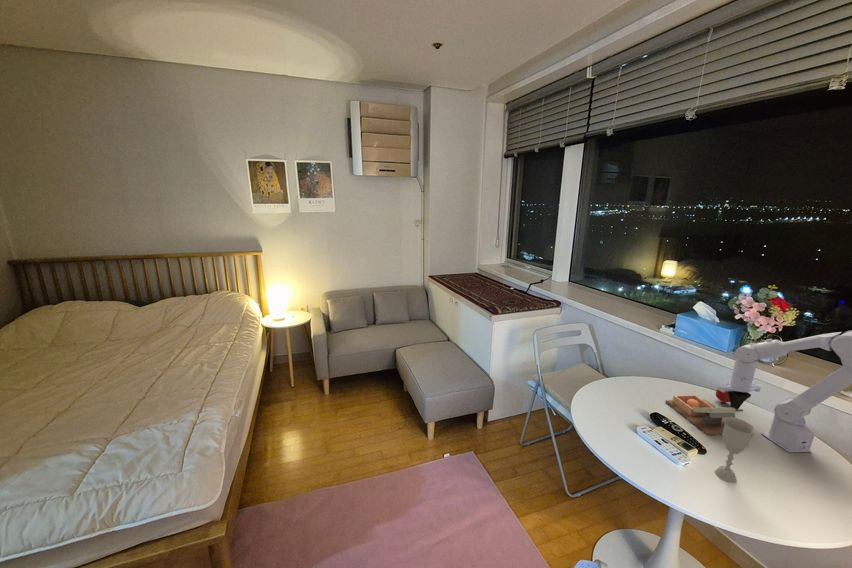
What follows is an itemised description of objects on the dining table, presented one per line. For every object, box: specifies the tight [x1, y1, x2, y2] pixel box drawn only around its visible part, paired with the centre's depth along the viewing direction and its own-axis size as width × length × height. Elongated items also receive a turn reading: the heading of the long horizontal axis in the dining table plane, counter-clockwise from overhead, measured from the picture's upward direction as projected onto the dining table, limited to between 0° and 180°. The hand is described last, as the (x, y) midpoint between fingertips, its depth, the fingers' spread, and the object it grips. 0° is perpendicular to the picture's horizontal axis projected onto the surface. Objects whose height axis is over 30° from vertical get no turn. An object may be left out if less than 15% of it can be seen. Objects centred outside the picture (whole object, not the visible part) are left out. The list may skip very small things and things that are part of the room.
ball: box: [687, 399, 699, 408], centre depth 131 cm, size 4×4×4 cm
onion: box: [715, 388, 730, 404], centre depth 137 cm, size 6×6×8 cm
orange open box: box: [672, 394, 713, 416], centre depth 132 cm, size 9×9×3 cm
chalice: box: [714, 417, 756, 484], centre depth 99 cm, size 7×7×18 cm
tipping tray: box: [693, 406, 744, 418], centre depth 123 cm, size 10×18×3 cm
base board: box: [665, 398, 725, 436], centre depth 128 cm, size 20×17×5 cm
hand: (734, 407), depth 127 cm, fingers closed
